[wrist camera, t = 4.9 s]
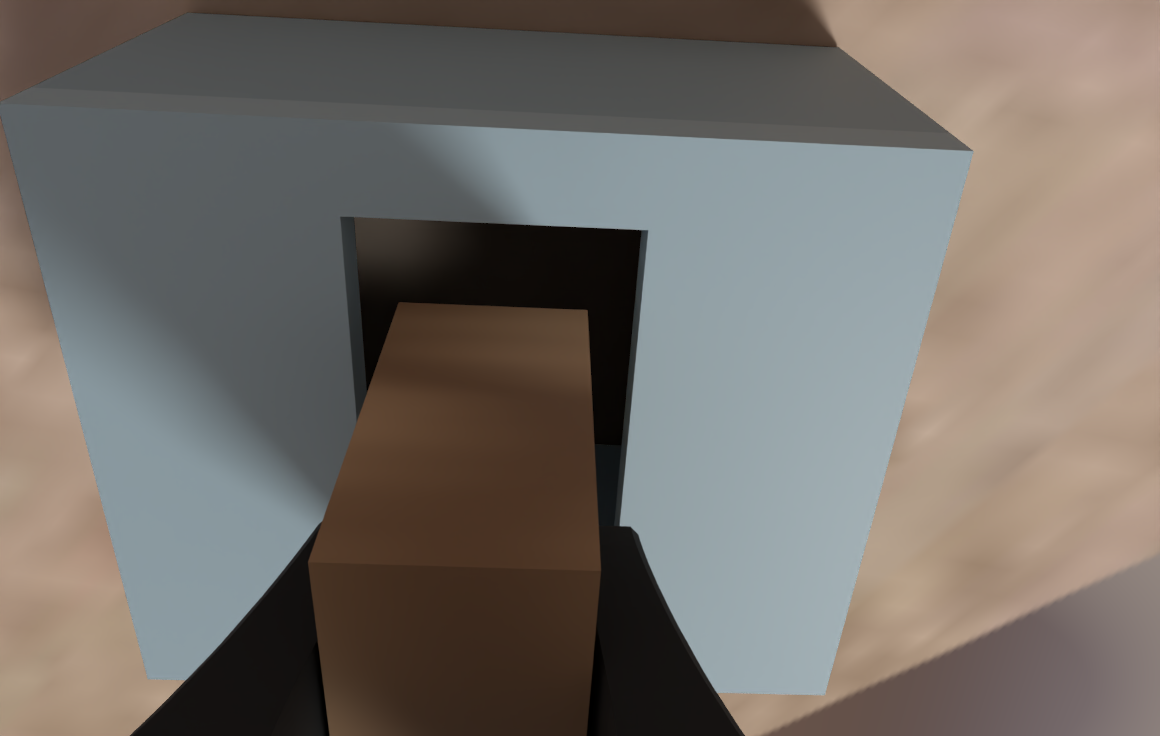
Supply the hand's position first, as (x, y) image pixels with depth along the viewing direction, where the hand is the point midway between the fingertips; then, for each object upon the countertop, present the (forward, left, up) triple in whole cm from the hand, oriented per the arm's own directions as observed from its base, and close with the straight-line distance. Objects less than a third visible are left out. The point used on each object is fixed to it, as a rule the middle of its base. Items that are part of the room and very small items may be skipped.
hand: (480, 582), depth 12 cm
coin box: (0, 0, -9) cm, 9 cm away
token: (0, 0, -2) cm, 2 cm away
